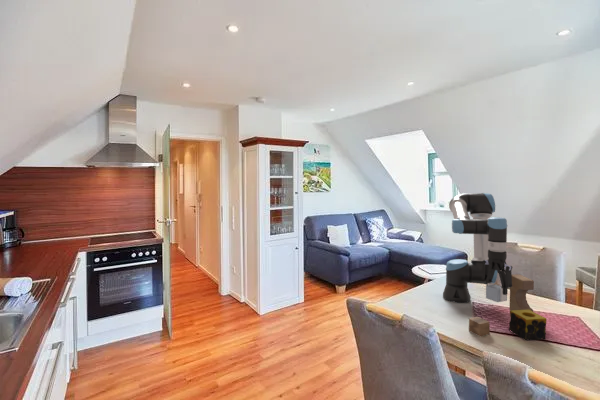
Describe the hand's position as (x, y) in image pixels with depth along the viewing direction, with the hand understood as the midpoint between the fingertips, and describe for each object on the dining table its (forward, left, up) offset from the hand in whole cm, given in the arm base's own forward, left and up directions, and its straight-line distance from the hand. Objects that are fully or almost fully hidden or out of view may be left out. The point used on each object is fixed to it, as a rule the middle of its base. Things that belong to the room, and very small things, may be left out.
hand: (496, 298), depth 149 cm
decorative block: (-8, +28, -16) cm, 34 cm away
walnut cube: (-2, -9, -16) cm, 18 cm away
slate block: (0, 0, 0) cm, 0 cm away
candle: (+8, +9, -16) cm, 20 cm away
